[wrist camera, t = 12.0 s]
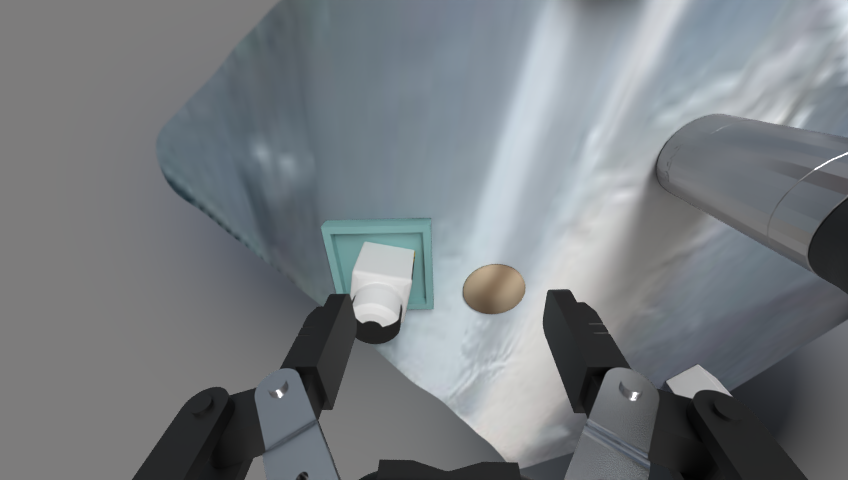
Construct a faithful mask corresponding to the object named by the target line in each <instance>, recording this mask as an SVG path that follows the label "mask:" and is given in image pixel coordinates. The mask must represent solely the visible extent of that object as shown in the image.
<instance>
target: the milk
mask: <svg viewBox="0 0 848 480" xmlns="http://www.w3.org/2000/svg"><path fill="white" fill-rule="evenodd" d="M666 382H667V384H668V385H669V387H670V388H671V389H672V391H673V392H674V394H677V395H681V396H684V397H688V398H693V397H694V395H695V394H696V393H697V392H698V391H700V390H715V391H719V392H722V393H725V394H727V395H729V396H731V395H730V393H729V392H728V391H727V390H726V389H725V388H724V386H723V385H722V384H721V383H720V382H719V381H718V380H717V379H716V378H715V377H714V376H712V375H711V374H710V373H708V372H707V371H706V370H705V369H703V368H702V367H701V366H699V365H695V366H693V367H691V368H690V369H688V370H686V371H684V372H682V373H680V374H678V375H676V376H674V377H673V378H671V379H669V380H667V381H666ZM731 397H732V396H731Z"/></svg>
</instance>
